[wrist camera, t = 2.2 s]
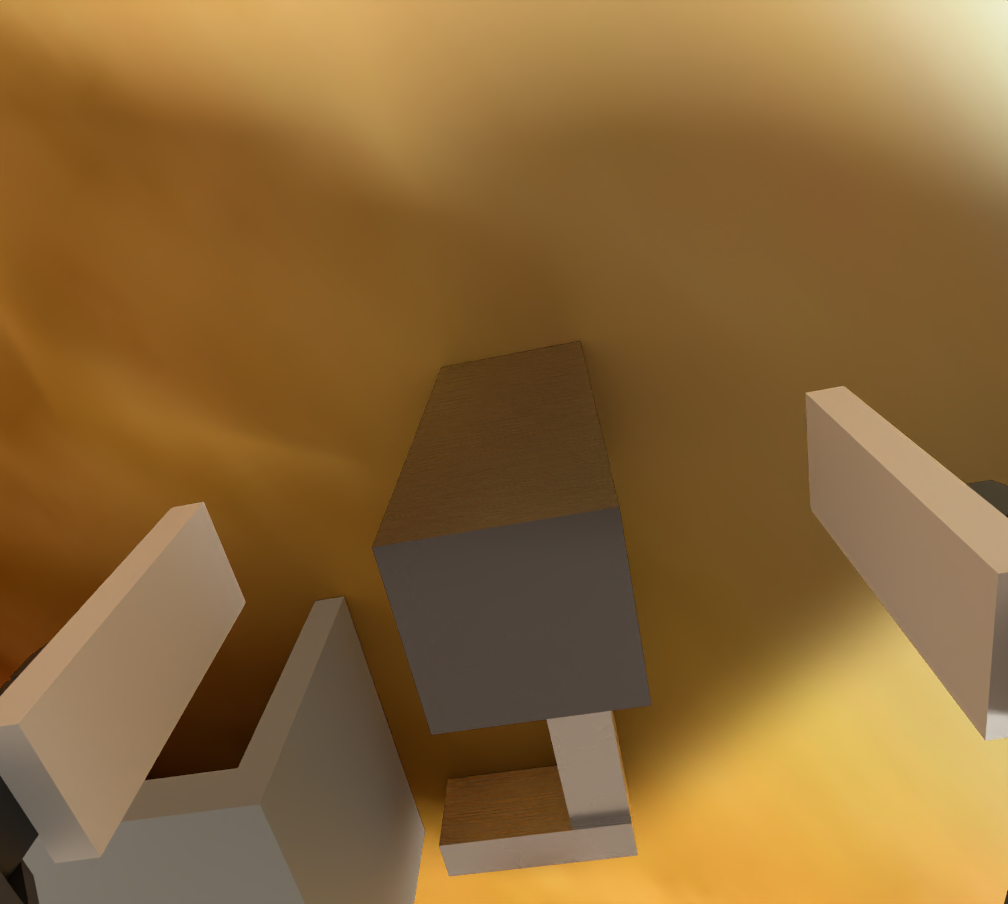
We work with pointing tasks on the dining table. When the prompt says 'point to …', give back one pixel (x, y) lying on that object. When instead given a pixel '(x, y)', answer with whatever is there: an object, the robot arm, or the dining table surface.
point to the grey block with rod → (519, 604)
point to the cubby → (272, 804)
